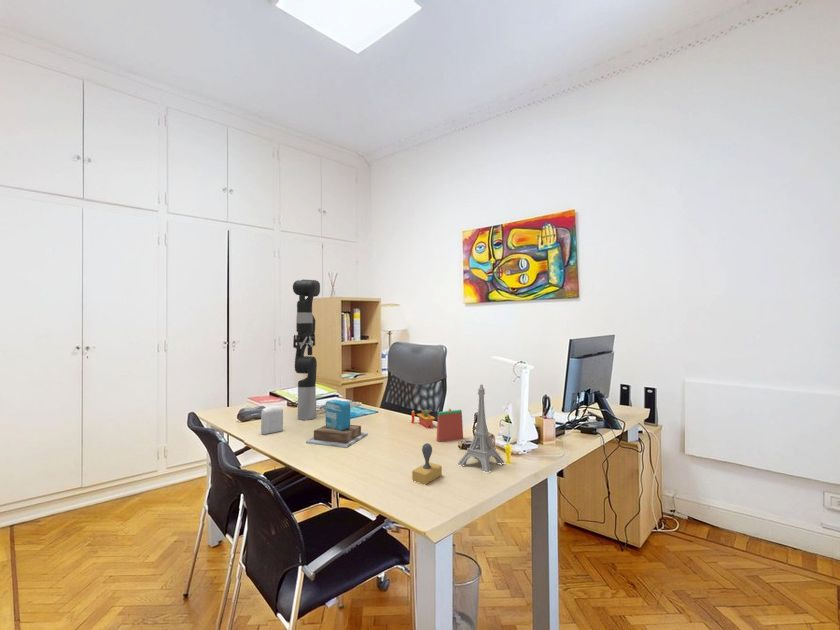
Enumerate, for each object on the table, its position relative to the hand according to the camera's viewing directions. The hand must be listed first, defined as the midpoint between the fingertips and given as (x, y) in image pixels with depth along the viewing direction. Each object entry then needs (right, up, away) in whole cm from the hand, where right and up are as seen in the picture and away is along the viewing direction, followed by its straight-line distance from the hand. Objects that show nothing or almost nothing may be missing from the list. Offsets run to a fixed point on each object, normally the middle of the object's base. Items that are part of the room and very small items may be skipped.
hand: (304, 356), depth 199 cm
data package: (+18, -32, -11) cm, 38 cm away
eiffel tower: (+78, -37, -43) cm, 97 cm away
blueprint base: (+18, -36, -12) cm, 42 cm away
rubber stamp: (+58, -37, -56) cm, 88 cm away
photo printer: (-15, -36, -1) cm, 39 cm away
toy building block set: (+62, -37, +2) cm, 72 cm away
